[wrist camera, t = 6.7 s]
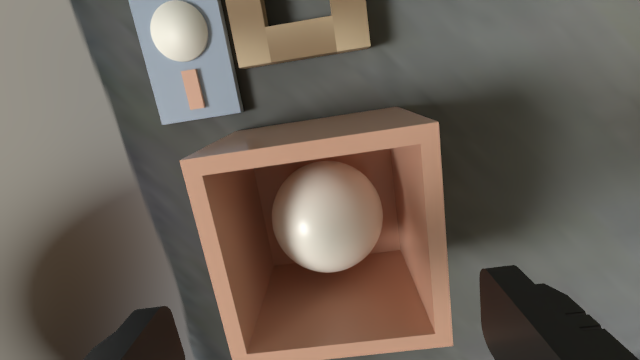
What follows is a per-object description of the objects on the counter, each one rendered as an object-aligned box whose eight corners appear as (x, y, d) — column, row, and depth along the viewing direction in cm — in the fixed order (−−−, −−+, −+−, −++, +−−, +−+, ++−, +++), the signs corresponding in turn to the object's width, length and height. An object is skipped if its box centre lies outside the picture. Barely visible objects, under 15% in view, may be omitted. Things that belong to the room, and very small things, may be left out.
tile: (133, -5, 16) (123, -9, 16) (216, -20, 16) (210, -25, 15) (167, 123, 18) (160, 125, 17) (243, 111, 18) (239, 112, 17)
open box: (236, 131, 18) (179, 160, 11) (396, 106, 17) (438, 121, 11) (266, 272, 20) (234, 369, 13) (410, 254, 20) (453, 345, 13)
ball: (271, 158, 18) (249, 186, 13) (369, 144, 18) (384, 168, 13) (289, 247, 19) (275, 302, 14) (380, 235, 19) (397, 288, 14)
